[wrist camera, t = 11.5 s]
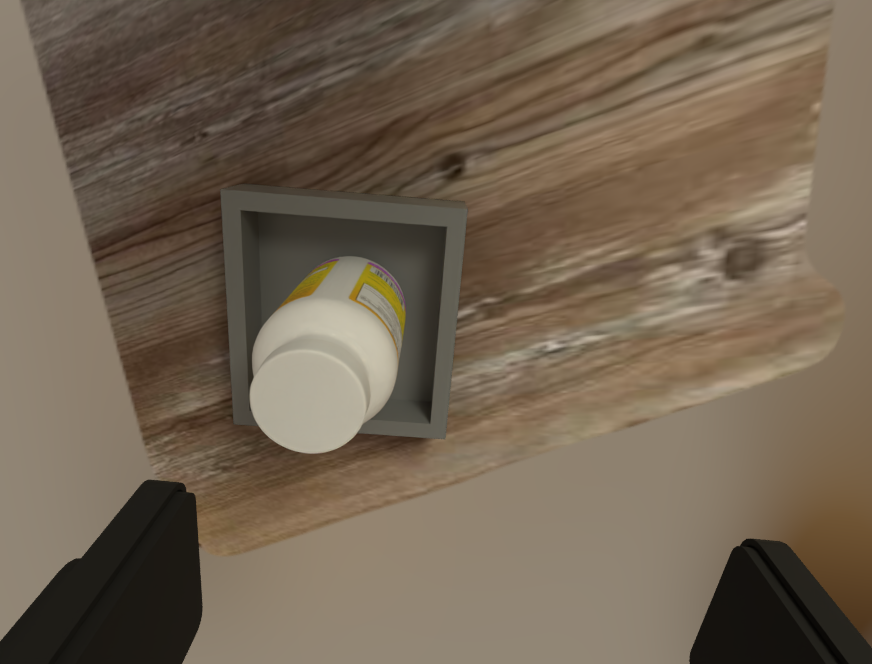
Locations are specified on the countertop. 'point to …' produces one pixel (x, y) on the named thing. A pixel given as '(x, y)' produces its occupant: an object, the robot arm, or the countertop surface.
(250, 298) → the charcoal tray
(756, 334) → the countertop surface
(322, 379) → the supplement bottle
